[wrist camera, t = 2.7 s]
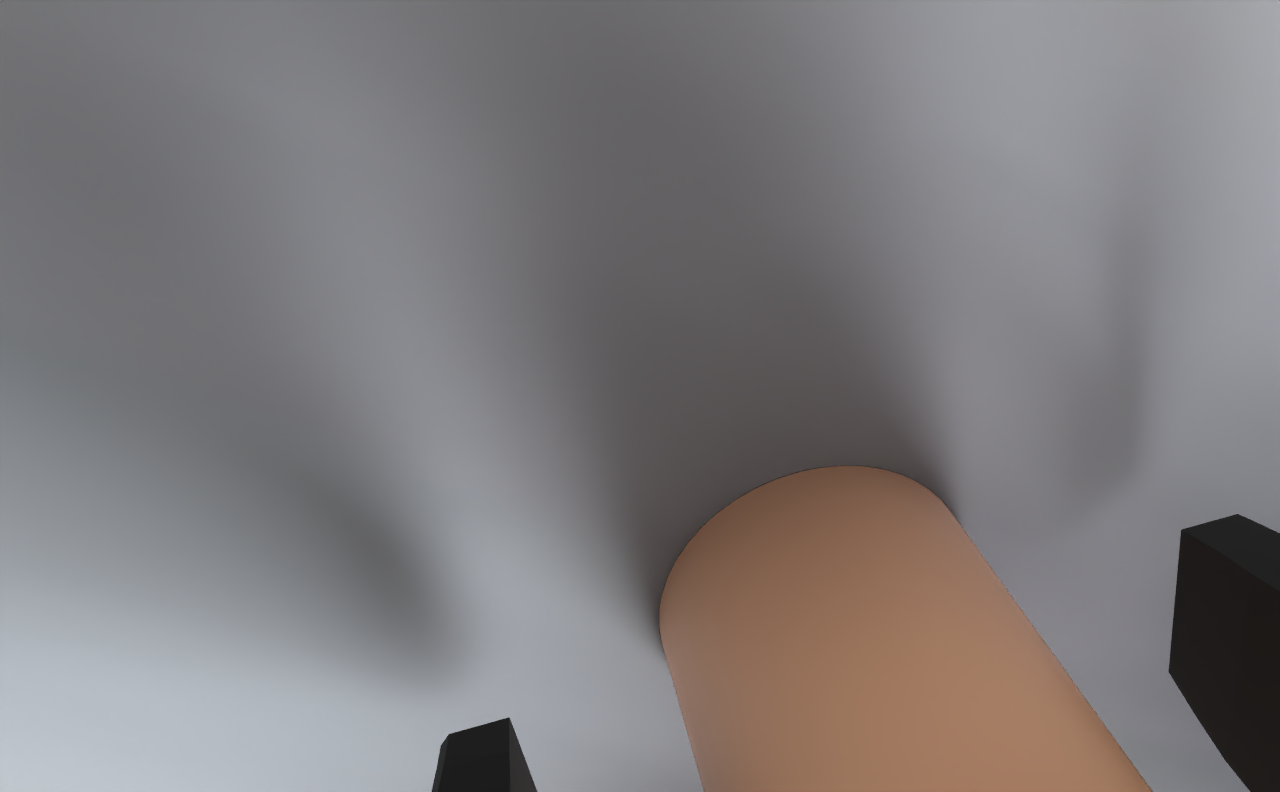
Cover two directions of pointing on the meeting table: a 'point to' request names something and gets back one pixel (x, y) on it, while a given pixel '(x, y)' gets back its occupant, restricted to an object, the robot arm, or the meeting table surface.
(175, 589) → the meeting table surface
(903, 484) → the peg
